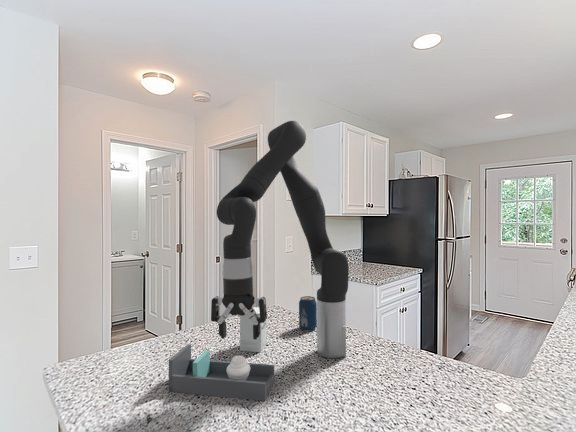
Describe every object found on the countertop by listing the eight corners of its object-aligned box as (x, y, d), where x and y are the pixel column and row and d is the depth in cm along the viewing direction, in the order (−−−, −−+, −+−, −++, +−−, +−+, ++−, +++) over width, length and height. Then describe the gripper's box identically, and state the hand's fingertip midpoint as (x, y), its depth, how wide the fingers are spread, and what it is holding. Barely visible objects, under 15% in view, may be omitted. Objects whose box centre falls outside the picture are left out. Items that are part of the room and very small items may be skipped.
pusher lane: (274, 379, 86) (274, 350, 86) (265, 400, 76) (265, 367, 76) (187, 372, 91) (187, 344, 91) (168, 391, 81) (168, 359, 81)
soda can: (315, 325, 129) (315, 295, 130) (317, 331, 123) (317, 300, 123) (298, 325, 129) (298, 296, 129) (299, 331, 122) (299, 300, 122)
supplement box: (261, 352, 104) (260, 313, 104) (239, 351, 105) (239, 312, 105) (267, 344, 111) (267, 307, 111) (246, 342, 112) (246, 306, 112)
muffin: (229, 391, 79) (228, 362, 79) (224, 379, 85) (224, 353, 85) (253, 386, 81) (253, 358, 81) (247, 375, 87) (247, 349, 87)
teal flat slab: (209, 372, 88) (209, 350, 88) (197, 386, 81) (197, 362, 81) (205, 371, 88) (205, 350, 88) (192, 386, 81) (192, 362, 81)
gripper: (268, 272, 85) (269, 333, 85) (217, 272, 87) (218, 331, 87) (261, 278, 78) (263, 344, 78) (205, 277, 80) (207, 342, 80)
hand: (239, 337), depth 82 cm, fingers open, 8 cm apart
